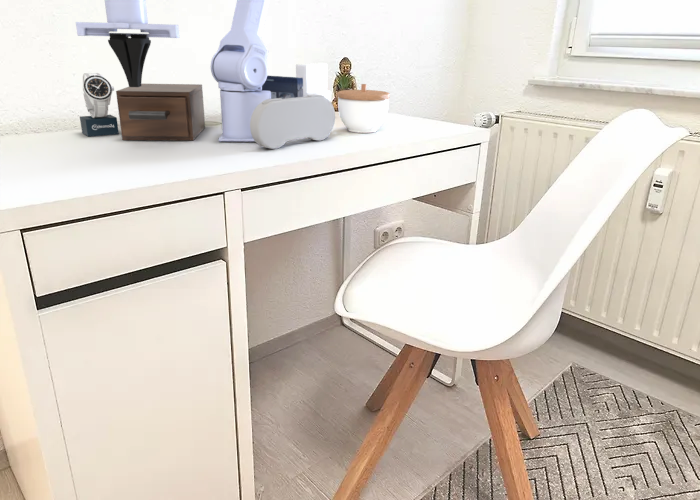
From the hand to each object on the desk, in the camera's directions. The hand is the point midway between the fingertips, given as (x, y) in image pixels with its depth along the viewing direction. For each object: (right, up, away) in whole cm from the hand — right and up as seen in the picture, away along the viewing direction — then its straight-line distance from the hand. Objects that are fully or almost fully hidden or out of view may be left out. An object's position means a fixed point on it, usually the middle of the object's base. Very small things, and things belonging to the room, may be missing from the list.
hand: (135, 86), depth 86 cm
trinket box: (+36, -1, +29) cm, 47 cm away
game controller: (+24, -7, +14) cm, 28 cm away
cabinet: (-2, -3, +21) cm, 21 cm away
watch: (-14, -4, +19) cm, 23 cm away
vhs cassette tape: (+15, +3, +36) cm, 39 cm away
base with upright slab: (+25, +6, +46) cm, 52 cm away
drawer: (-2, -4, +16) cm, 17 cm away
